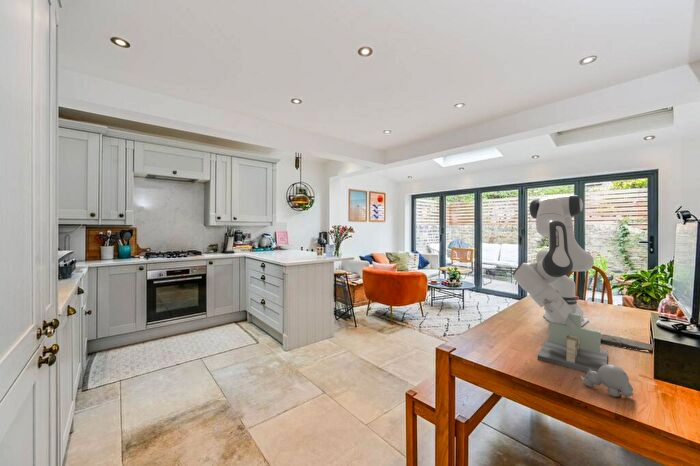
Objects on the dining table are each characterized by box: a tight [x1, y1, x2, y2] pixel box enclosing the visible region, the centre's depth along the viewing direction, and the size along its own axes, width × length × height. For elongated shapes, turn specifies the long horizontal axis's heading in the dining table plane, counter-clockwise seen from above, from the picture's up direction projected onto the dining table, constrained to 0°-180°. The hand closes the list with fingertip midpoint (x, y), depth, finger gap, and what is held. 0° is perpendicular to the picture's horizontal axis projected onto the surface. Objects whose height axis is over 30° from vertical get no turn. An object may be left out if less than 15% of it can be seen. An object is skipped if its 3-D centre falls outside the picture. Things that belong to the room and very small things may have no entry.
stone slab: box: [600, 333, 653, 352], centre depth 132 cm, size 10×3×30 cm
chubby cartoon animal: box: [580, 363, 634, 398], centre depth 92 cm, size 7×12×8 cm, turn 42°
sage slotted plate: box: [548, 313, 602, 352], centre depth 115 cm, size 16×2×12 cm, turn 48°
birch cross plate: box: [537, 335, 609, 373], centre depth 115 cm, size 24×20×9 cm
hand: (575, 326), depth 115 cm, fingers closed on sage slotted plate, 2 cm apart
